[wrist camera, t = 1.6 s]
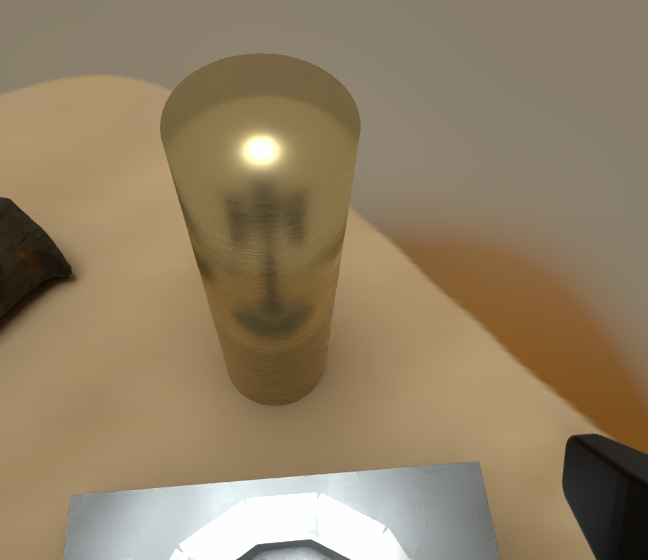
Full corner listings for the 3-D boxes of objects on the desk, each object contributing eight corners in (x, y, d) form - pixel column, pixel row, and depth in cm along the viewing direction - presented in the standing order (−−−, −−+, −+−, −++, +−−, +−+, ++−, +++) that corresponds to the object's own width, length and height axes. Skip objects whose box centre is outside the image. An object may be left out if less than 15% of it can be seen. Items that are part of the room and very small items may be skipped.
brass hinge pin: (342, 380, 22) (395, 162, 11) (247, 422, 21) (198, 228, 10) (301, 299, 24) (311, 35, 13) (212, 333, 23) (135, 81, 12)
